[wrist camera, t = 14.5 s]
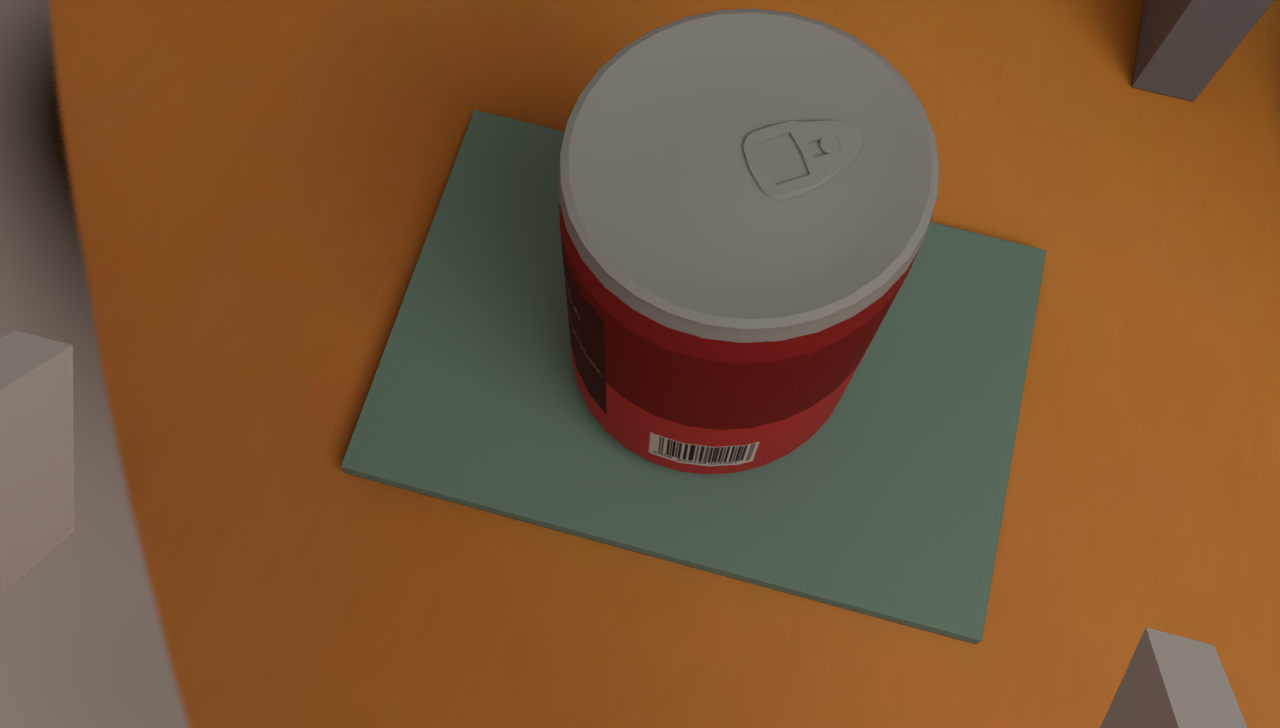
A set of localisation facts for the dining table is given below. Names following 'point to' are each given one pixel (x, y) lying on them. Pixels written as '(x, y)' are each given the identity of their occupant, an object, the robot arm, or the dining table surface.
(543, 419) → the green mat
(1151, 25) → the open box
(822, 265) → the canned food
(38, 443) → the robot arm
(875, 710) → the dining table surface
